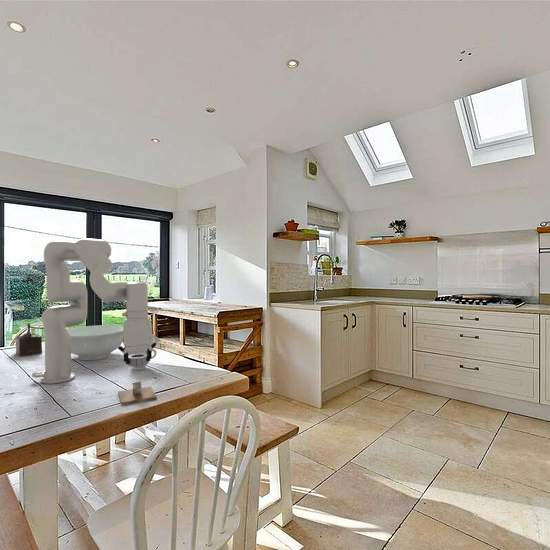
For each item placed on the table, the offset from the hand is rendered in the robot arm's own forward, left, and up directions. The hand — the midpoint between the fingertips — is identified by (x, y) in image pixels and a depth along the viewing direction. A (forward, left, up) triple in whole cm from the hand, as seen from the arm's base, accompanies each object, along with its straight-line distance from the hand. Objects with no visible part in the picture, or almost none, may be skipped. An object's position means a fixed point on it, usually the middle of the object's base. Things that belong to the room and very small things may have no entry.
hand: (137, 361), depth 130 cm
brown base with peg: (0, 0, -13) cm, 13 cm away
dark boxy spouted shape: (-41, +94, -14) cm, 104 cm away
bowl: (-12, +70, -14) cm, 73 cm away
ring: (0, 0, -1) cm, 1 cm away
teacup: (+7, +36, -14) cm, 39 cm away
